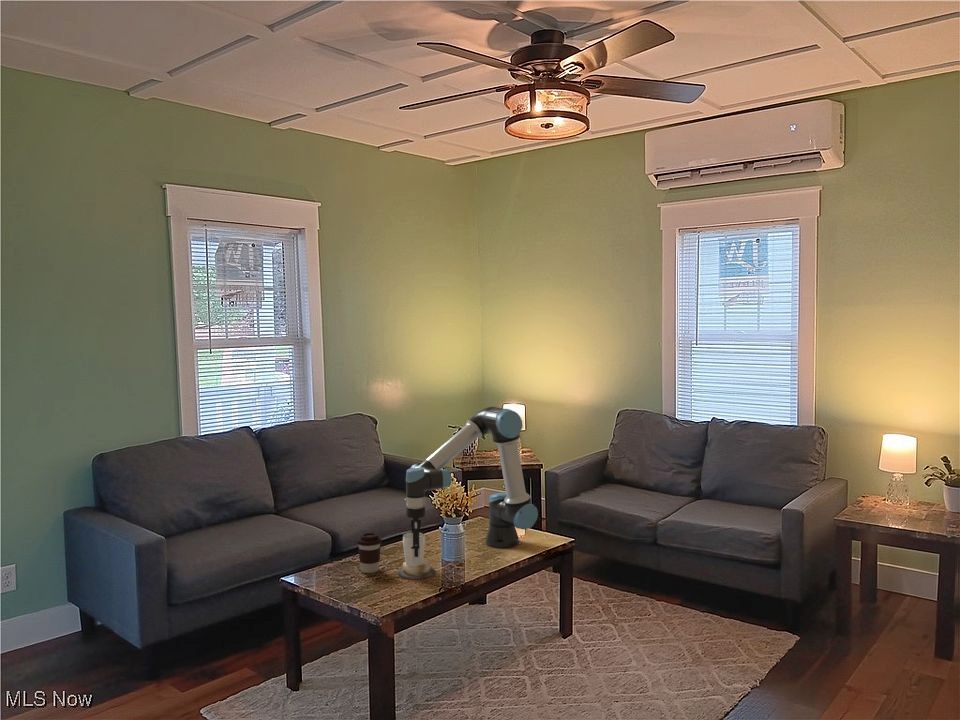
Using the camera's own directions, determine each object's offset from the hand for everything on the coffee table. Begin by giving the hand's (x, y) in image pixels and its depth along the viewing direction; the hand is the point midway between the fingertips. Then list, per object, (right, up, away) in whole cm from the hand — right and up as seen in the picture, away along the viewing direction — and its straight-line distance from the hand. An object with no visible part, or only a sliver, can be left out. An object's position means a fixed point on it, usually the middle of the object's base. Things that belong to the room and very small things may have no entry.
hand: (416, 559), depth 320 cm
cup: (-1, -2, -1) cm, 2 cm away
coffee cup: (-19, -6, +4) cm, 21 cm away
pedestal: (0, -6, 0) cm, 6 cm away
